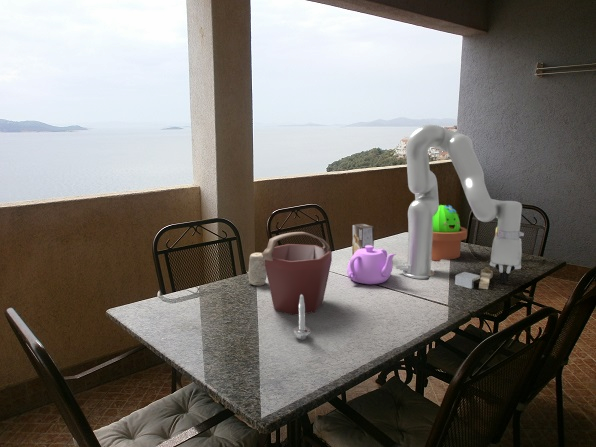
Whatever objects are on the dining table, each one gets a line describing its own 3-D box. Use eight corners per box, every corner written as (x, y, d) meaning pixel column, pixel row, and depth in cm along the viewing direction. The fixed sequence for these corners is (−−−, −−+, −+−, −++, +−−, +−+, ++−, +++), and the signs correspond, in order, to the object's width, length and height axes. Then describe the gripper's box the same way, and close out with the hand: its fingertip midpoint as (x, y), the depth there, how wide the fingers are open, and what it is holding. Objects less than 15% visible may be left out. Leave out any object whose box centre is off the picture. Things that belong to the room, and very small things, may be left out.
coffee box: (374, 261, 200) (375, 226, 197) (362, 263, 197) (363, 228, 194) (362, 256, 208) (363, 223, 205) (351, 258, 206) (352, 224, 202)
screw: (301, 332, 129) (313, 337, 126) (289, 337, 125) (302, 343, 122) (300, 290, 126) (313, 293, 123) (289, 294, 123) (302, 298, 120)
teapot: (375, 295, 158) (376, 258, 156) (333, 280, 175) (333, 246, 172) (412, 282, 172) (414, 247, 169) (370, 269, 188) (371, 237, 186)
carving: (263, 287, 167) (263, 257, 164) (245, 285, 169) (244, 255, 167) (270, 282, 173) (269, 252, 170) (252, 280, 175) (251, 251, 173)
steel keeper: (471, 289, 161) (472, 279, 160) (454, 284, 165) (455, 275, 165) (479, 285, 165) (480, 275, 164) (463, 280, 170) (464, 271, 169)
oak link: (481, 273, 177) (481, 265, 177) (492, 275, 176) (493, 267, 175) (476, 287, 162) (477, 278, 161) (489, 289, 160) (490, 280, 159)
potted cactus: (406, 252, 214) (409, 201, 209) (445, 248, 221) (448, 199, 216) (433, 265, 194) (436, 209, 189) (474, 260, 200) (479, 206, 195)
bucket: (267, 321, 137) (265, 243, 132) (254, 296, 157) (253, 228, 152) (341, 312, 143) (342, 237, 138) (320, 290, 164) (320, 224, 159)
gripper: (530, 234, 162) (525, 282, 166) (486, 230, 168) (483, 276, 172) (531, 238, 155) (526, 288, 159) (485, 234, 162) (481, 282, 165)
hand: (503, 282), depth 165 cm, fingers closed
